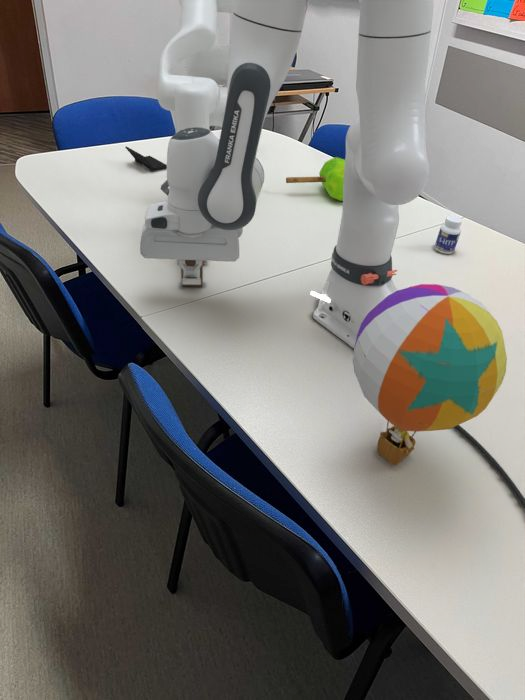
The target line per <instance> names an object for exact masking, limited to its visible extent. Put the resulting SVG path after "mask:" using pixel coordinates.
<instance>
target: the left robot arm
mask: <svg viewBox="0 0 525 700" xmlns="http://www.w3.org/2000/svg"><path fill="white" fill-rule="evenodd" d="M178 2H179V7H180V18H179V31H178V32H177V33H176V34H175V35H174V36H173V37H172V38H171V39H170V40H169V41H168V43H167V44H166V45H165V47H164V48H163V50H162V52H161V54H160V56H159V60H158V66H157V78H156V79H157V80H156V97H157V101H158V104H159V106H160V107H161V108H162V109H163V110H166V111H168V112H174V118H175V119H174V121H175V134H176V133H177V132H179V131H180V130H184V129H187V128H194V127H199V128H205V129H208V130H210V131H211V132H212V133H213V131H212V130H211V129H210V127H221V128H222V125H223V119H224V114H225V108H226V101H227V85H228V64H229V44H225V43H220V27H219V24H218V13H226V14H233V9H234V3H235V0H178ZM183 60H185V61H184V64H185V65H184V67H185V75H179V74H178V75H177V74H172V71H173V69H174V67H176V65H177V64H178V63H180V62H182V61H183ZM160 190H161V191H162V192H163V193H164V194H165V195H166V196H167V197H168V194H169V184H168V181H167V179H165V181H164V182H163V183H162V184H161V185H160Z"/></svg>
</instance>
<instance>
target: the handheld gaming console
mask: <svg viewBox="0 0 525 700" xmlns="http://www.w3.org/2000/svg"><path fill="white" fill-rule="evenodd" d="M125 149H126V151H128V153H129V154H130V156H132V158H133V159H134V162H135V163H137V164H139V165H141V166H143V167H145V168H146V169H147V170H150V171H151V172H156V171H161V170H167V163H164V162H162V161H161V160H159V159H157V158H155V157H153V156H151V155H145V156H144V155H142V154H141V153H139V152H137V151H136V150H134V149H132V148H130V147H128V146H125Z"/></svg>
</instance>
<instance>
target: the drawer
mask: <svg viewBox="0 0 525 700" xmlns="http://www.w3.org/2000/svg"><path fill="white" fill-rule="evenodd" d="M185 264H186V265H187V266H190V267H194V266H195V264H196V260H185ZM203 267H204V265H203V260H202V266H201V267H200V268H199V270H198V271H197V277H184V270H183V269H182V268H181V267H180V279H181V287H204V286H203V284H204V283H203V279H204V278H203V277H204V276H203V275H204V274H203V273H204V272H203V271H204V268H203Z"/></svg>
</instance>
